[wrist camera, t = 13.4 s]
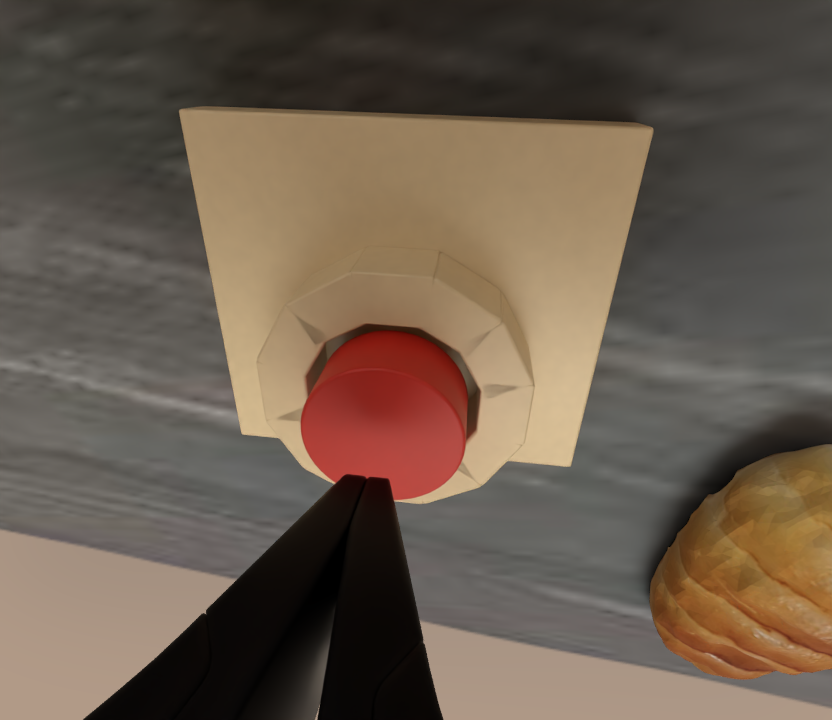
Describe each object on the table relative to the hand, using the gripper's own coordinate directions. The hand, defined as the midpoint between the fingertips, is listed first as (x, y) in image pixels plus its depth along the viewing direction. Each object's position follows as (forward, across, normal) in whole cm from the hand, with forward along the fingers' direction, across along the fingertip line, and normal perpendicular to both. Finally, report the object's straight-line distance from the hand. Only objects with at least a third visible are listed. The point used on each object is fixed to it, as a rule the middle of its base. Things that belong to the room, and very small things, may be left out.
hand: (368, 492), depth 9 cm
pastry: (+6, -12, +6) cm, 15 cm away
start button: (+3, 0, 0) cm, 3 cm away
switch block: (+6, 0, -2) cm, 6 cm away
